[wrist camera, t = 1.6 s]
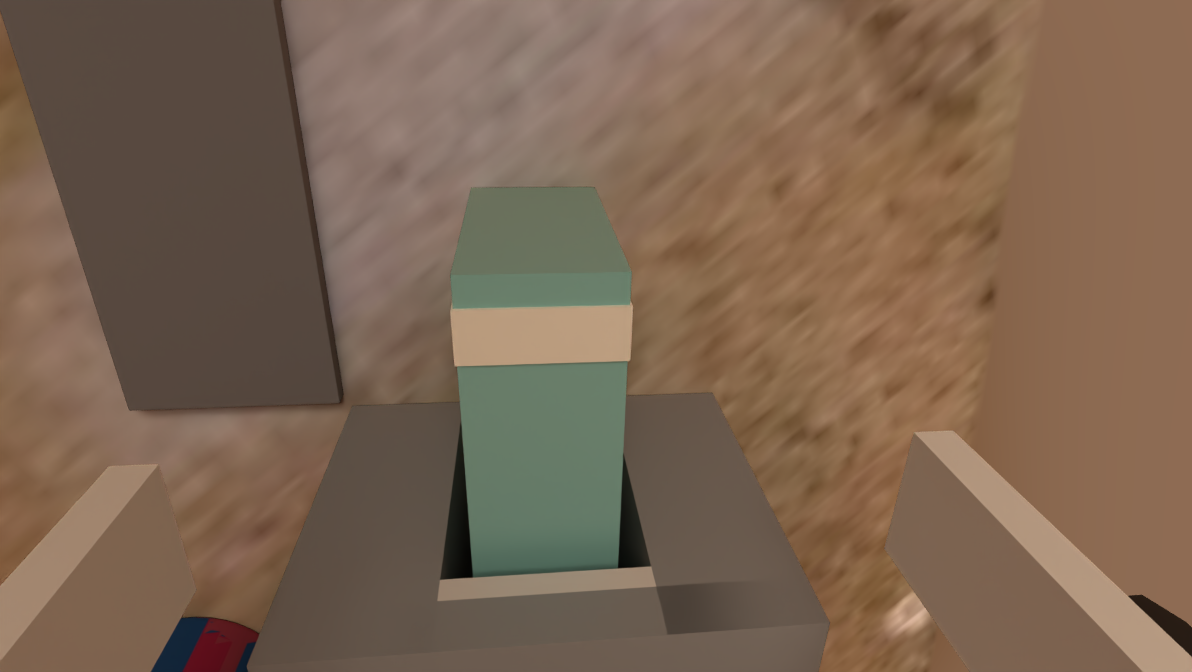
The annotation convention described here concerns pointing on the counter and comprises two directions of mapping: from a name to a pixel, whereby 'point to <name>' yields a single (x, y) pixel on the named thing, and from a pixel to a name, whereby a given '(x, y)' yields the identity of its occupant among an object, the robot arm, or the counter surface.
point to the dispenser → (547, 600)
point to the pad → (185, 194)
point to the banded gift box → (541, 378)
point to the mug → (207, 647)
